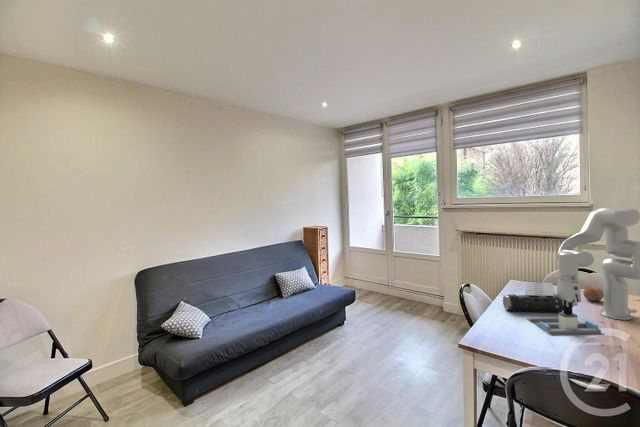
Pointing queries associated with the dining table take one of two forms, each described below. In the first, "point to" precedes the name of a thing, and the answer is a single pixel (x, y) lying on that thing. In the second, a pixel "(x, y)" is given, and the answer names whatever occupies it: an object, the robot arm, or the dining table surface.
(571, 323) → the grey rectangular prism
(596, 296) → the onion
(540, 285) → the warehouse
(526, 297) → the muzzle brake
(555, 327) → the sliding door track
